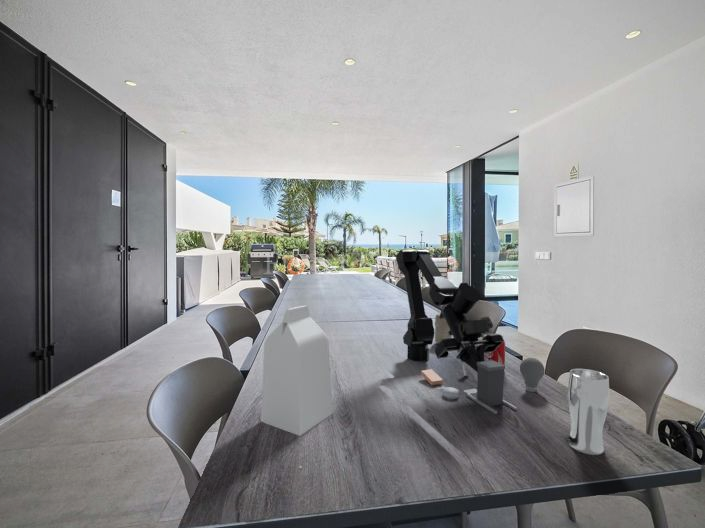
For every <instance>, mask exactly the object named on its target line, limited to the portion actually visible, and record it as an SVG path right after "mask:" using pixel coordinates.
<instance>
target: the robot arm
mask: <svg viewBox="0 0 705 528" xmlns="http://www.w3.org/2000/svg"><path fill="white" fill-rule="evenodd" d="M395 260H396V263H397V266H398V270H399V271H400V272H401V273H402V275H403V276H404V282H405V288H406V294H407V300H408V305H409V314H410V317H409V320H408V322H407V330H406V332H405V333H404V335H403V338H402V340H403V343H404V344H405V345H406V346H407V355H406V356H407V360H411V361H414V362H428V361H429V360H430V348H428V347H429V345H433V340H434V339H435V326H434V322H433V318H432V317H429V316H428V315H427V314H426V311H425V305H424V297H423V294H422V293H423V292H422V286H421V280H420V275H419V272H421V274H422V275H423V277H424V279H425V280H426V282H427V284H428V286H429V291H428V294H429V296H430V299H431V302H432V303H433V305H435V306H437V307H439V306H444V308H441V310H440V319H442V318H445V320H446V322H447V324H448V326H449V328H450V331H449V332H448V333H449V335H451V336H452V337H451V338H449V339H442V340H441V342H440V343H439V344H438V343H437V345H436V346H435V349H434V353H435V355H436V358H437V359H446V358H448V357H449V354H450V353H449V352H452V351H456V352H457V354H458V355H456V359H457V360H458V359H459V360H460V359H461V360H462V361H464V362H465V363H466V364H467V366H469V367H470V368H471V369H473V370H474V371H475V372H476V374H478V366H477V362H482V361H485V360H484V353H487V352H493V351H495V350H496V349H497V348H498V347H499V346H500V345H501V344H502V343H503V342H504V341H505V339H504V337H503V338H502V336H503V335H502V334H501V333H492V334H488V333H489V332H490V331H491V330H490V329H493V327H494V325H493V321H492V319H491V318H490V316H483V317H480V318H479V319H473V320H472V319H469V318H468V316H467V314H469V313H470V312H471V311H472V310H473V309H474V308H475V306H476V305H477V304H478V302H479V301H480V300H481V297H482V295H481V293H480V291H479V290H478V289H476V288H475V287H473V286H472V285H469V283H468V282H460V283H459V285H458V287H457V286H455V285H454V283H453V282H452V281H450V280H448V279H446V278H445V277H444V276H443V275H442V273H441V271H440V269H439V268H438V267H437V265H436V263H435V262H434V260H433V259H432V257H431V253H430V251H429V250H428V249H427V250H426V249H400V250H399V251H398V252H397V253H396V256H395ZM483 333H487V334H488V335H486V336H485V338H484V339H483V340H482V339H479V338H482V336H483ZM501 335H502V336H501ZM503 339H504V340H503ZM461 360H460V361H461Z"/></svg>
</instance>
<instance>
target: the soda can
mask: <svg viewBox="0 0 705 528" xmlns="http://www.w3.org/2000/svg"><path fill="white" fill-rule="evenodd" d="M488 334H493V333H491V332H490V333H489V332H487V333H484V334H483V337H481V340H483V339H484V338H485V336H486V335H488ZM500 335H501V336H502V338H503V340H504V342H503V343H502V344H501V345H500V346H499V347H498V348H497V349H496V350H495V351H493V352H487V353H484V360H485V361H489V360H493V361H496V362H498V363H500V364H502V365H505V366H506V341H505V339H504V335H502V334H500Z"/></svg>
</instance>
